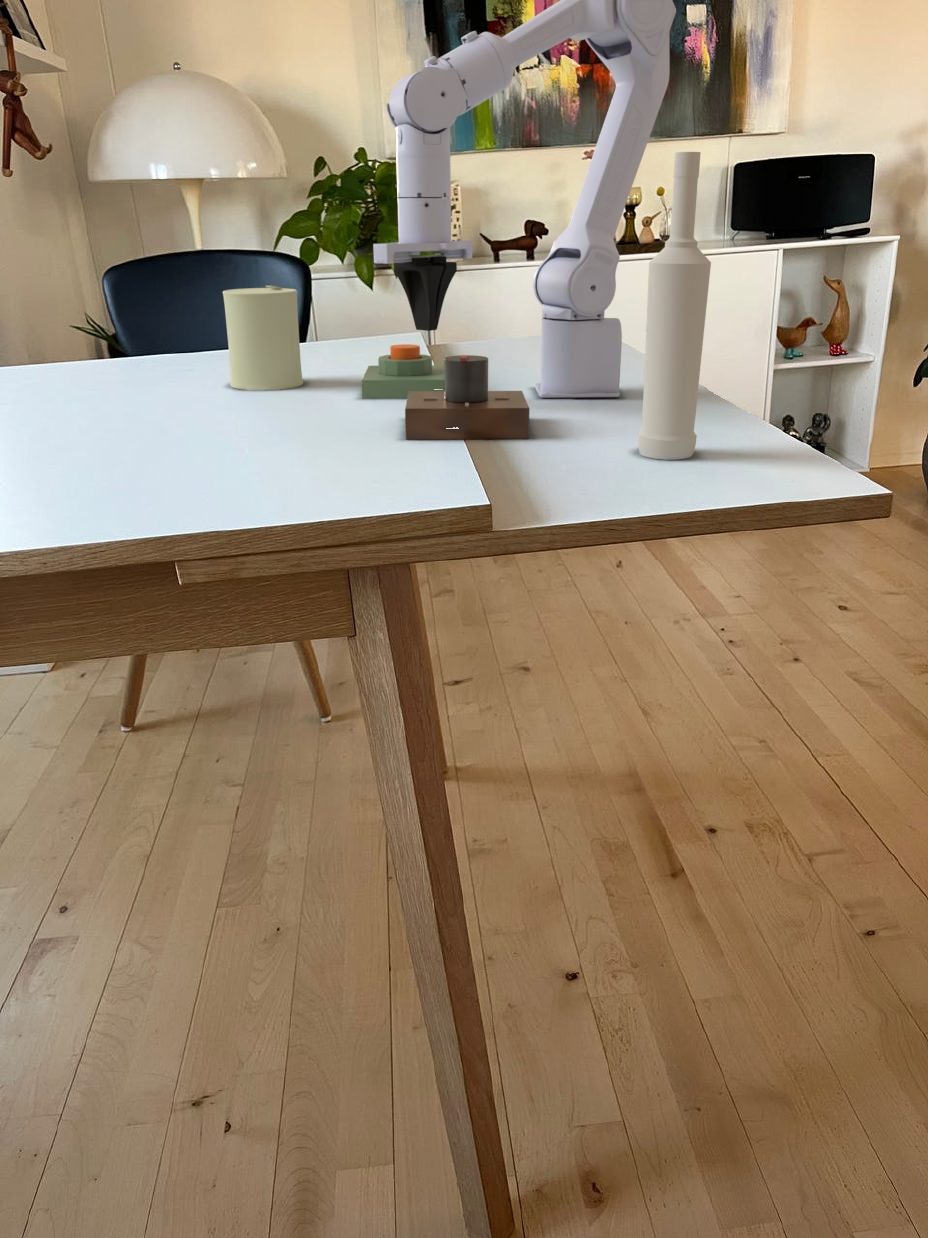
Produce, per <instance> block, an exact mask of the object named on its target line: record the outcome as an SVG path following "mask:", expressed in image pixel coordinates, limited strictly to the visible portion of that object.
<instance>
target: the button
mask: <svg viewBox="0 0 928 1238" xmlns="http://www.w3.org/2000/svg"><path fill="white" fill-rule="evenodd" d="M389 349H390V351H389V352H390V354H389V355H391V359H396V360H412V359H420V354H421V347H420V345H418V344H406V343H403V344H392V345H390V346H389Z"/></svg>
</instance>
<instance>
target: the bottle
mask: <svg viewBox="0 0 928 1238" xmlns="http://www.w3.org/2000/svg"><path fill="white" fill-rule="evenodd" d="M701 153H702V152H701V151H677V152H674V163H673V186H672V187H673V188H672V201H671V202H672V203H671V214H670V215H671V216H670V229H669V230H670V231H669V238H668V239H667V240H666V241H665V242H664V247H663V248H662V249H661V250H660V251H659V252H658V253H657V254H656V255H655V256H654V257H653V258H652V259H651V260H650V261H649V262H648V278H647V280H648V281H647V302H646V305H647V306H646V324H645V347H644V348H645V352H644V370H643V371H644V375H643V396H642V398H643V399H642V417H641V418H642V419H641V421H642V422H641V430H640V431H639V433H638V436H637V437H638V439H637V441H638V442H637V444H638V451H639V454H640V456H643V457H645V458H649V459H655V460H666V461H670V460H671V461H672V460H673V461H675V460H676V461H677V460H685V459H688V458H691V457H692V456H693V455H694V453H695V449H696V443H697V437H698V435H697V434H696V432H695V423H696V412H697V403H698V394H699V385H700V374H701V365H702V355H703V345H704V336H705V326H706V317H707V316H706V315H707V307H708V298H709V297H708V295H709V287H710V276H711V268H712V267H711V265H712V262H711V260H709V258H707V256H706V255H705V254H704V253H703V251H702V250H700V248H699V247H698V241H697V240H696V239H695V225H696V224H695V223H696V213H697V211H696V210H697V196H698V183H699V177H700V165H701Z"/></svg>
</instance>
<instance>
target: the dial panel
mask: <svg viewBox="0 0 928 1238" xmlns="http://www.w3.org/2000/svg"><path fill="white" fill-rule="evenodd" d="M404 421H405V423H404V424H405V440H513V439H514V440H515V439H516V440H521V439H522V440H523V439H524V440H525V439H526V440H527V439H530V407H529V404H528V402H527V400H526V397H525V394H524V392H523V390H488V399H487V400H485V401H481V402H468V403H464V402H451V401H447V400H445V395H444V391H409V392H408V397H407V398H406V403H405V408H404ZM453 427H455V428H456V427H458V428H459V429H446V428H453Z"/></svg>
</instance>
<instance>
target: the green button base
mask: <svg viewBox="0 0 928 1238" xmlns="http://www.w3.org/2000/svg"><path fill="white" fill-rule="evenodd" d="M360 381H361V399H362V400H367V399H370V400H371V399H372V400H374V399H375V400H377V399H379V400H381V399H382V400H383V399H384V400H385V399H386V400H387V399H388V400H390V399H407V397H408V392H409V391H444V364H433V356H432V355H428V354H421V353H420V359H412V360H396V359H391V354H385V355H380V356H378V365H368V366H367V368H366V370H365V372H364V374H363V376H362V378H361V380H360ZM434 389H443V390H434Z"/></svg>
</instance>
